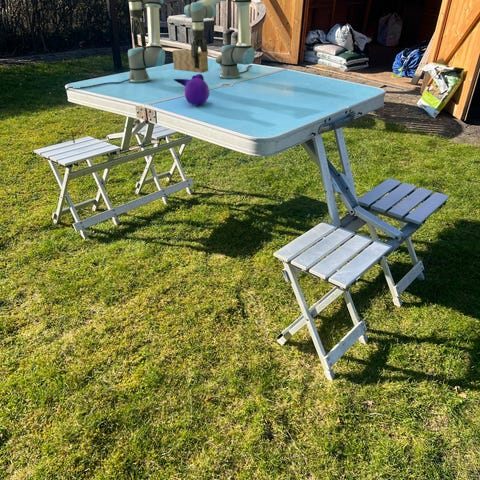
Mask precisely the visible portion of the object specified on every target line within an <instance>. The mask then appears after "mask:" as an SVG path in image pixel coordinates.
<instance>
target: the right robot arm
mask: <svg viewBox="0 0 480 480" xmlns="http://www.w3.org/2000/svg"><path fill="white" fill-rule="evenodd" d="M226 1H227V0H197V1H195V2H191V3H190V4H186V5H185V6H184V9H183V13H184V16H185V17H187V18H191V29H192V31H191V33H192V37H193V39H192V40H190V48H191V49H190V50H191V57H193V58H194V63H195V68H199V66H198V58H197V54H198V51H199V48H200V51H201V52H207V56H209V51H208V39H207V38H205V30H204V29H205V24H204V23H205V21H204V19H212V18H214V17H216V16H217V8H216V5H218V4H219V3H221V2H226ZM234 3H235V5H236V14H237V19H236V21H237V43H234V44H226V45H222V46H221V51H220V52H221V56H222V67H221V69H220V74H219V77H220V79H223V80H224V79H225V80H235V79H239V78H241V74H244V73H247V72H248V71H249V67H252V63H253V62H254V60H255V58H256V50H255V49H254V48H253V45H252V43H251V41H250V39H251V38H250V37H251V36H250V34H251V33H250V29H251V28H250V27H251V26H250V5H251V4H252V0H234ZM238 65H244V66H245V65H246V66H247V65H248V66H247V67H246V69H247V70H244V71H239V67H238Z"/></svg>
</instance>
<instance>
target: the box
mask: <svg viewBox="0 0 480 480" xmlns="http://www.w3.org/2000/svg"><path fill="white" fill-rule="evenodd" d="M197 58H198V66H199V68H195V63H194V58H193V57H191V49H190V50H189V49H175V50H174V49H173V50H172V59H173V60H172V61H173V70H175V71H183V72H193V73H198V74H203V73H207V72H209V61H208V58H209V57H208V55H207V52H201V50H200V51H199V50H198V54H197Z"/></svg>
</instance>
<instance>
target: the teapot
mask: <svg viewBox="0 0 480 480" xmlns="http://www.w3.org/2000/svg"><path fill="white" fill-rule="evenodd" d="M215 64H218V65H219V66H220V67H221V68H222V55H218V56H217V57H216V58H215Z"/></svg>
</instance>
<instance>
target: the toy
mask: <svg viewBox="0 0 480 480" xmlns="http://www.w3.org/2000/svg"><path fill="white" fill-rule="evenodd" d="M173 81H174V82H176V83H178V84H180V85H181V86H184V97H185V99H186V101H187V103H189V104H190V105H193V106H199V107H200V106H202V105H204V104H205V103H206V102H207V101H208V99H209V97H210V87H209V86H208V83H207V82H206V81H205V79H204V76H203V75H202V73H197V74H195V75H192V76H191V78H190V79H187V78H174V79H173Z"/></svg>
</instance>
